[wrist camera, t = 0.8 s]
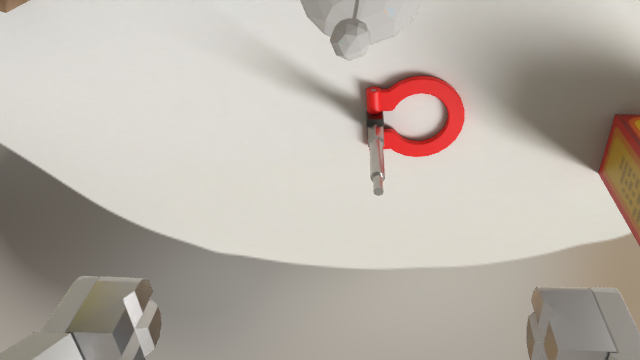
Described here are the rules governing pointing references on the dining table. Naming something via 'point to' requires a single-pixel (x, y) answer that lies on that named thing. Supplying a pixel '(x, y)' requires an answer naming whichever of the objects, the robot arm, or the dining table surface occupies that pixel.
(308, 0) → the french press
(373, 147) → the tow hook
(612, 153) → the baking soda box
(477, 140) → the dining table surface
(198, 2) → the dining table surface
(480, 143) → the dining table surface
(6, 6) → the hole block
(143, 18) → the dining table surface
